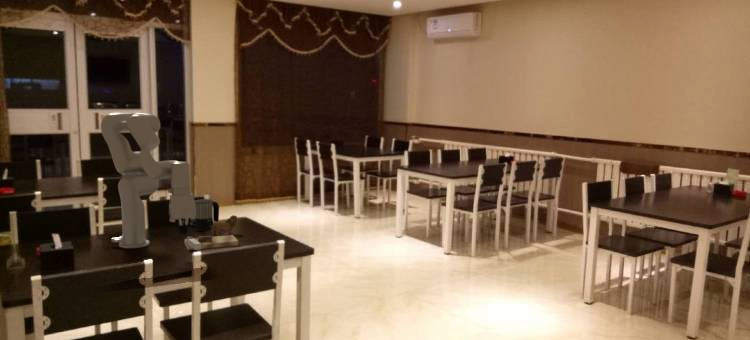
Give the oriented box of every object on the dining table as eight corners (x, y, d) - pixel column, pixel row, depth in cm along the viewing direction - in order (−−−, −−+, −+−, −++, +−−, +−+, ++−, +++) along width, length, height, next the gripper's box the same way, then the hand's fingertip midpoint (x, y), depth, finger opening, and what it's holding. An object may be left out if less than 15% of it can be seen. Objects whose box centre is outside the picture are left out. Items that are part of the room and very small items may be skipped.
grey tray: (188, 250, 250) (187, 240, 249) (184, 243, 260) (184, 234, 260) (238, 245, 259) (238, 235, 258) (232, 239, 270) (232, 230, 269)
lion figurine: (235, 231, 285) (234, 214, 283) (240, 233, 281) (239, 215, 279) (207, 235, 275) (206, 217, 274) (211, 237, 271) (211, 219, 270)
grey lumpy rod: (185, 243, 252) (185, 237, 251) (191, 242, 253) (191, 236, 253) (195, 250, 241) (195, 243, 241) (201, 249, 243) (201, 242, 243)
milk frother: (207, 232, 283) (207, 202, 281) (179, 229, 286) (178, 200, 284) (221, 225, 296) (221, 197, 294) (194, 223, 300) (194, 196, 298)
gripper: (165, 194, 230) (167, 238, 232) (201, 190, 239) (203, 233, 241) (160, 191, 236) (162, 234, 238) (196, 188, 245) (197, 230, 247)
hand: (183, 234), depth 239 cm, fingers closed
